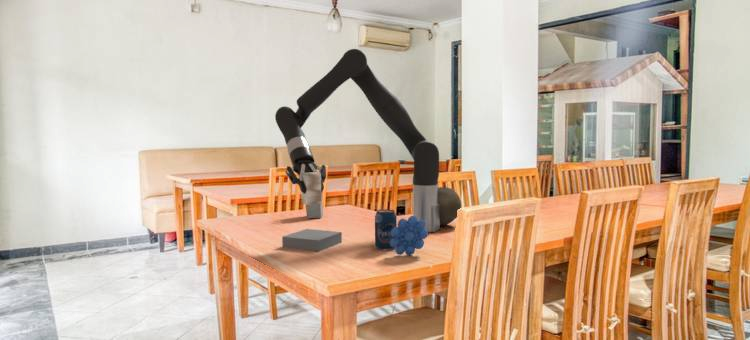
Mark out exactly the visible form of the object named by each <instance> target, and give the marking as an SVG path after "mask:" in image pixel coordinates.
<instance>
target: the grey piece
mask: <svg viewBox="0 0 750 340" xmlns="http://www.w3.org/2000/svg"><path fill="white" fill-rule="evenodd" d="M317 172H318V171H317ZM317 172H315V173H314V172H309V173H302V176H303V181H304V183H305V186H306V189H307V191H306V193H305V194H303V192H301V191H300V192H301V194H300V195H301V204H304V205H305V206H306V205H313V204H321V173H319V172H318V173H317Z"/></svg>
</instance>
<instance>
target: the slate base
mask: <svg viewBox="0 0 750 340" xmlns="http://www.w3.org/2000/svg"><path fill="white" fill-rule="evenodd" d="M342 235H343V233H342V231H335V230H333V231H332V230H322V229H311V228H305V229H302V230H299V231H296V232H292V233H289V234H287V235H283V236H282V238H281V239H282V241H281V243H282V248H284V249H294V250H301V251H311V252H312V251H313V252H322V251H324V250H326V249H329V248H331V247H335V246H336V245H339V244H342V243H343V241H342Z"/></svg>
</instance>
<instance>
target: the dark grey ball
mask: <svg viewBox="0 0 750 340" xmlns="http://www.w3.org/2000/svg"><path fill="white" fill-rule="evenodd" d="M438 204H439V205H440V227H441V226H446V225H449V224H450V223H452V222H453V221H454V220H456V219H457V218H458V216H457V210H458V209H460V208H461V209H462V200H461V199H460V196H459V194H458V193H457V192H456V191H455V190H454V189H453V188H450V187H444V186H443V187H442V186H440V187H439V186H438Z"/></svg>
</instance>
